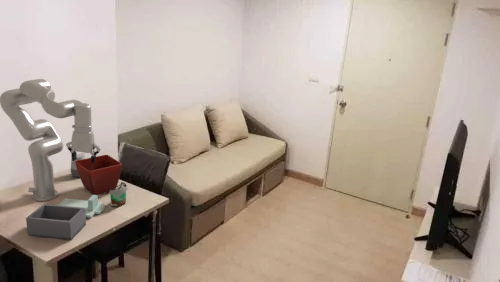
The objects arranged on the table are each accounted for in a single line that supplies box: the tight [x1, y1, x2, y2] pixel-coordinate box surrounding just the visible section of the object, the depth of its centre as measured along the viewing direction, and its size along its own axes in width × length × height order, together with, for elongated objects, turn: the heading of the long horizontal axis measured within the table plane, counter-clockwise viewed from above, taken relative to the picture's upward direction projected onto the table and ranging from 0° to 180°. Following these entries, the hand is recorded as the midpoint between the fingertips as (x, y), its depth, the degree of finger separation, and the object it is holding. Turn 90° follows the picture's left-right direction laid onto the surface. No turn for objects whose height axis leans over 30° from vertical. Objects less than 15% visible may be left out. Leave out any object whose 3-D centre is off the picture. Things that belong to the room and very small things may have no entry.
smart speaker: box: [70, 152, 86, 178], centre depth 240 cm, size 10×9×14 cm
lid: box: [57, 194, 105, 218], centre depth 201 cm, size 23×15×8 cm, turn 86°
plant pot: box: [75, 154, 123, 196], centre depth 223 cm, size 19×19×17 cm
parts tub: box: [25, 203, 87, 241], centre depth 182 cm, size 20×14×9 cm
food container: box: [108, 181, 129, 208], centre depth 210 cm, size 12×6×10 cm, turn 168°
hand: (83, 161), depth 197 cm, fingers open, 9 cm apart
